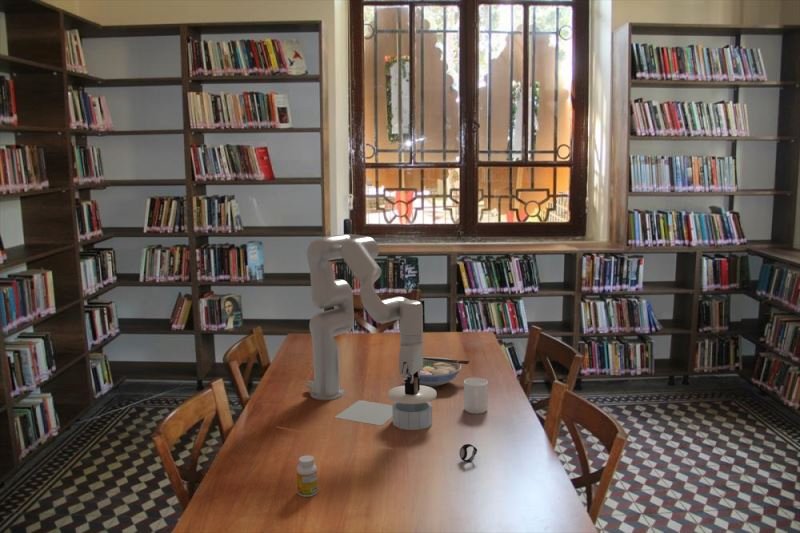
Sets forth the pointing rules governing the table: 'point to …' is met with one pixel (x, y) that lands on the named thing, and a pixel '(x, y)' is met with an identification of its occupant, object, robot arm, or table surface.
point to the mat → (367, 412)
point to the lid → (419, 396)
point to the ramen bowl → (439, 370)
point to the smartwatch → (464, 452)
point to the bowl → (412, 415)
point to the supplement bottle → (307, 477)
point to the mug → (475, 395)
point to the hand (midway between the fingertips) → (412, 391)
